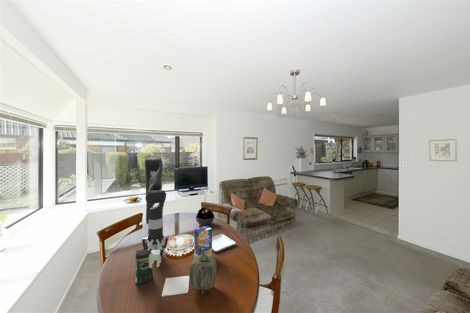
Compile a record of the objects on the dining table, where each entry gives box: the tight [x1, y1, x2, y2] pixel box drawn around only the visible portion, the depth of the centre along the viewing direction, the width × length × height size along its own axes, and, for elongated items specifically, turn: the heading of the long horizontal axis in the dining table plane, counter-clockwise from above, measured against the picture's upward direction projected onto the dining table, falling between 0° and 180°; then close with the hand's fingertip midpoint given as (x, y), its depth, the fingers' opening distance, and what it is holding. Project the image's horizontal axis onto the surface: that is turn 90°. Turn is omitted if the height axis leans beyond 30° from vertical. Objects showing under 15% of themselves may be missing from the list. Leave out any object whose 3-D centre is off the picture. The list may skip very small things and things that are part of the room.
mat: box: [161, 275, 190, 298], centre depth 105 cm, size 14×14×1 cm
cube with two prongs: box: [149, 250, 162, 269], centre depth 101 cm, size 5×5×7 cm
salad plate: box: [212, 233, 236, 253], centre depth 153 cm, size 21×21×3 cm
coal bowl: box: [195, 207, 216, 227], centre depth 194 cm, size 20×20×19 cm
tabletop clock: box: [188, 247, 218, 295], centre depth 101 cm, size 14×9×25 cm, turn 92°
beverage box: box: [193, 225, 213, 258], centre depth 132 cm, size 7×11×22 cm, turn 129°
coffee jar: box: [134, 248, 154, 285], centre depth 110 cm, size 10×8×19 cm
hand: (155, 255), depth 101 cm, fingers closed on cube with two prongs, 5 cm apart
